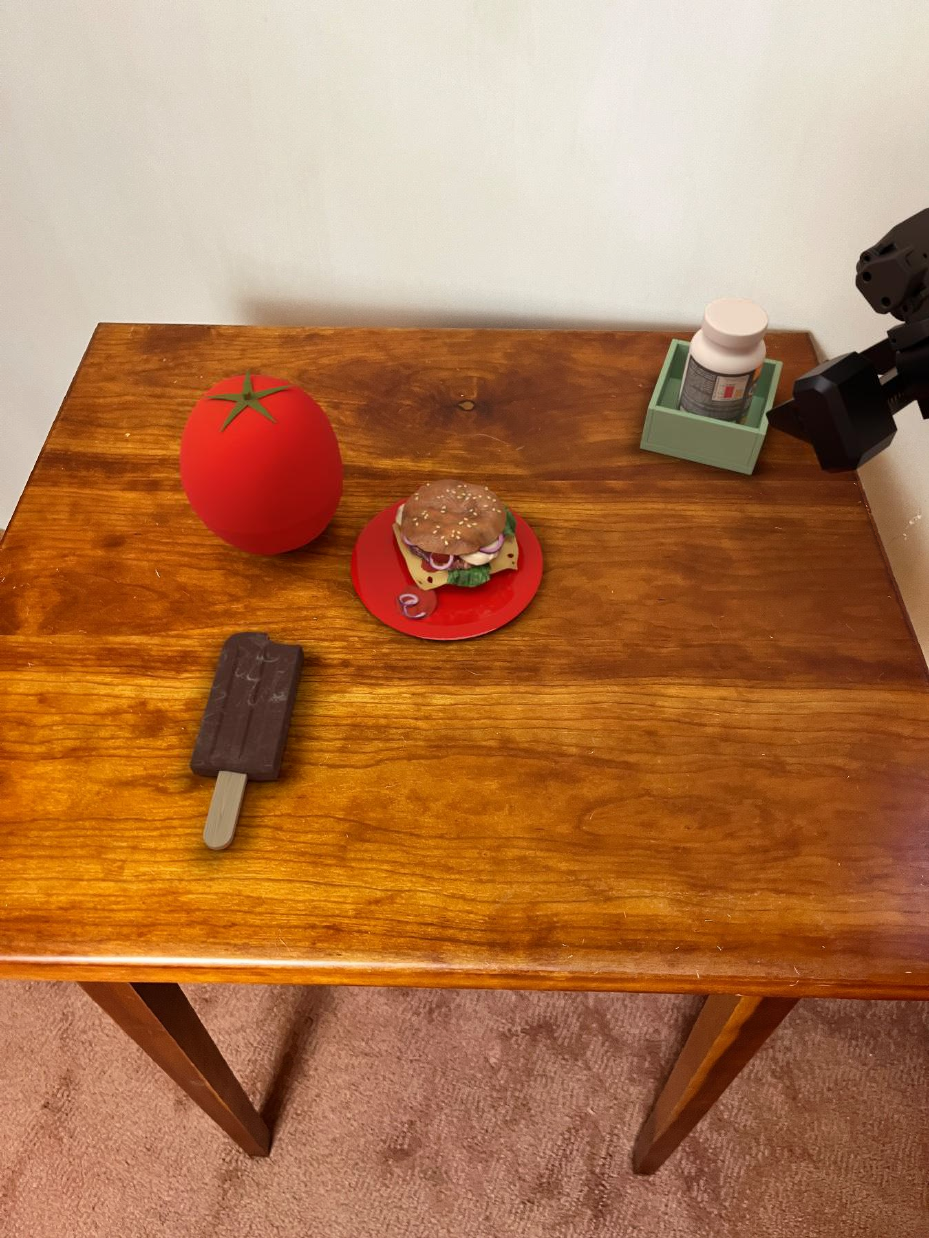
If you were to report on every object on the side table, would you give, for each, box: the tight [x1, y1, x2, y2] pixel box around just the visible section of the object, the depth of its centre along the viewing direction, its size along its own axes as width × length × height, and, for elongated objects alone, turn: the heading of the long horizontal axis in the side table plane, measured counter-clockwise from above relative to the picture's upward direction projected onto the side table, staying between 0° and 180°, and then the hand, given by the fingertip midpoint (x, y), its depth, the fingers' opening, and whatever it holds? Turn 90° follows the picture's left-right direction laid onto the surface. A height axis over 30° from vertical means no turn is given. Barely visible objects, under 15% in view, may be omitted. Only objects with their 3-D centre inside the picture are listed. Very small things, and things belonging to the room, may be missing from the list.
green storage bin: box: [639, 338, 783, 476], centre depth 74 cm, size 9×9×4 cm
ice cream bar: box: [189, 631, 305, 851], centre depth 58 cm, size 5×2×15 cm
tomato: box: [179, 368, 344, 556], centre depth 64 cm, size 11×11×13 cm
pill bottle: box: [676, 296, 770, 425], centre depth 71 cm, size 6×6×10 cm
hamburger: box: [350, 478, 544, 641], centre depth 64 cm, size 14×14×6 cm
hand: (811, 391), depth 65 cm, fingers open, 9 cm apart
